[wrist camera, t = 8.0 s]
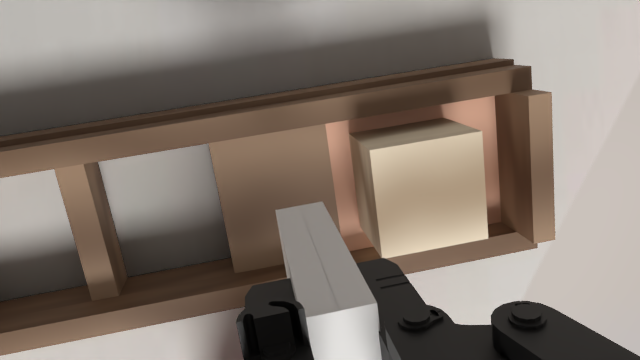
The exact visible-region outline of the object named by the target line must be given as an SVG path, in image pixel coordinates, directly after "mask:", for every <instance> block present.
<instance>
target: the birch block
mask: <svg viewBox="0 0 640 360" xmlns="http://www.w3.org/2000/svg"><path fill="white" fill-rule="evenodd" d="M349 141H350V149H351V157H352V165H353V173H354V181H355V188H356V196H357V204H358V212H359V220H360V227H361V228H362V230H363V231H364V233H365V234H366V236H367V237H368V239H369V240H370V242H371V243H372V245H373V246H374V248H375V249H376V251H377V252H378V253H379V255H380V256H381V258H391V257H396V256H401V255H406V254H411V253H417V252H422V251H427V250H432V249H437V248H442V247H448V246H453V245H458V244H463V243H468V242H473V241H479V240H484V239H488V223H487V205H486V188H485V171H484V154H483V137H482V131H480V130H478V129H475V128H472V127H469V126H466V125H463V124H461V123H458V122H455V121H452V120H449V119H446V118H438V119H432V120H426V121H420V122H414V123H408V124H402V125H396V126H390V127H384V128H378V129H372V130H366V131H360V132H354V133H349Z"/></svg>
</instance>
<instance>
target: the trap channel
mask: <svg viewBox="0 0 640 360" xmlns="http://www.w3.org/2000/svg"><path fill="white" fill-rule="evenodd" d="M438 118H446V119H449V120H452V121H455V122H458V123H461V124H463V125H466V126H469V127H472V128H475V129H478V130H480V131H482V137H483V154H484V171H485V188H486V205H487V223H488V239H484V240H479V241H473V242H468V243H463V244H458V245H453V246H448V247H442V248H437V249H432V250H427V251H422V252H417V253H411V254H406V255H401V256H396V257H391V258H386V259H388V260H390V261H392V262H394V263H396V264H397V265H398V266H399V267H400V269H401V270H402V272H403V273H404V275H405V274H410V273H415V272H420V271H425V270H430V269H435V268H440V267H445V266H450V265H455V264H460V263H465V262H470V261H475V260H480V259H485V258H490V257H495V256H500V255H505V254H510V253H515V252H520V251H525V250H530V249H535V248H537V243H540V242H545V241H550V240H555V214H554V174H553V134H552V94H551V92H545V91H539V90H532V77H531V66H521V65H514V59H495V58H493V59H486V60H480V61H474V62H467V63H461V64H455V65H449V66H442V67H436V68H430V69H423V70H417V71H411V72H404V73H398V74H392V75H385V76H379V77H373V78H367V79H360V80H354V81H348V82H341V83H335V84H329V85H322V86H316V87H310V88H303V89H297V90H291V91H284V92H278V93H272V94H266V95H259V96H253V97H247V98H240V99H234V100H228V101H221V102H215V103H209V104H202V105H196V106H190V107H184V108H177V109H171V110H165V111H158V112H152V113H146V114H139V115H133V116H127V117H120V118H114V119H108V120H102V121H95V122H89V123H83V124H76V125H70V126H64V127H57V128H51V129H45V130H38V131H32V132H26V133H19V134H13V135H7V136H1V137H0V178H3V177H9V176H15V175H21V174H27V173H33V172H39V171H45V170H51V169H54V170H55V173H56V177H57V180H58V184H59V187H60V191H61V194H62V198H63V201H64V205H65V208H66V212H67V215H68V219H69V222H70V226H71V229H72V233H73V236H74V240H75V243H76V247H77V250H78V254H79V257H80V261H81V264H82V268H83V271H84V275H85V278H86V282H87V285H85V286H80V287H75V288H70V289H64V290H59V291H54V292H49V293H43V294H38V295H33V296H28V297H22V298H17V299H12V300H7V301H1V302H0V356H1V355H6V354H11V353H16V352H21V351H26V350H31V349H36V348H41V347H46V346H51V345H56V344H61V343H66V342H71V341H76V340H81V339H86V338H91V337H96V336H101V335H106V334H111V333H116V332H121V331H126V330H131V329H136V328H141V327H146V326H151V325H156V324H161V323H166V322H171V321H176V320H181V319H186V318H191V317H196V316H201V315H206V314H211V313H216V312H221V311H226V310H230V309H235V308H240V307H245V296H246V294H247V293H248V291H249V290H250V288H251V287H252V286H253V285H258V284H263V283H268V282H273V281H278V280H283V279H287V274H286V269H285V263H284V257H283V251H282V246H281V240H280V234H279V228H278V223H277V217H276V211H275V210H279V209H284V208H290V207H295V206H301V205H306V204H311V203H317V202H323V203H324V205H325V207H326V209H327V211H328V213H329V215H330V216H331V218H332V220H333V222H334V224H335V226H336V228H337V229H338V231H339V233H340V235H341V237H342V239H343V241H344V242H345V244H346V246H347V248H348V250H349V252H350V254H351V255H352V257H353V259H354V261H355V263H360V262H365V261H370V260H375V259H380V258H381V256H380V255H379V253H378V252H377V251H376V249H375V248H374V246H373V245H372V243H371V242H370V240H369V239H368V237H367V236H366V234H365V233H364V231H363V230H362V228H361V227H360V220H359V212H358V204H357V196H356V188H355V181H354V173H353V165H352V157H351V149H350V141H349V133H354V132H360V131H366V130H372V129H378V128H384V127H390V126H396V125H402V124H408V123H414V122H420V121H426V120H432V119H438ZM207 143H208V144H209V149H210V154H211V159H212V164H213V169H214V174H215V178H216V183H217V188H218V193H219V198H220V203H221V208H222V213H223V218H224V223H225V228H226V233H227V238H228V243H229V248H230V253H231V257H232V258H227V259H222V260H217V261H212V262H206V263H201V264H196V265H191V266H185V267H180V268H175V269H170V270H164V271H159V272H154V273H148V274H143V275H138V276H133V277H128V276H127V272H126V269H125V265H124V261H123V257H122V253H121V250H120V246H119V242H118V238H117V234H116V230H115V227H114V223H113V219H112V215H111V211H110V208H109V204H108V200H107V196H106V192H105V189H104V185H103V181H102V177H101V173H100V169H99V166H98V162H99V161H105V160H111V159H117V158H123V157H129V156H135V155H141V154H147V153H153V152H159V151H165V150H171V149H177V148H183V147H189V146H195V145H201V144H207Z"/></svg>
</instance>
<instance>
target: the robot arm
mask: <svg viewBox="0 0 640 360" xmlns="http://www.w3.org/2000/svg"><path fill="white" fill-rule="evenodd" d="M275 211H276V217H277V223H278V228H279V234H280V240H281V246H282V251H283V257H284V263H285V269H286V274H287V279H283V280H278V281H273V282H268V283H263V284H258V285H253V286H252V287H251V288H250V290H249V291H248V293H247V294H246V296H245V309H244V310H243V311H242V312H241V313H240V314H239V316H238V319H237V322H236V324H237V329H238V334H239V339H240V343H241V348H242V353H243V358H244V360H640V356H638V355H636V354H634V353H632V352H631V351H629V350H627V349H625V348H623V347H622V346H620V345H618V344H616V343H614V342H613V341H611V340H609V339H607V338H605V337H604V336H602V335H600V334H598V333H596V332H595V331H593V330H591V329H589V328H587V327H586V326H584V325H582V324H580V323H578V322H577V321H575V320H573V319H571V318H569V317H568V316H566V315H564V314H562V313H560V312H559V311H557V310H555V309H553V308H551V307H548V306H546V305H543V304H541V303H535V302H530V301H515V302H511V303H507V304H503V305H501V306H499V307H498V308H496V309H495V310H494V311H493V313H492V315H491V325H459V324H455V323H454V322H453V321H452V320H451V318H450V317H449V316H448V315H447V314H446V313H445V312H444V311H443V310H441V309H439V308H436V307H433V306H430V305H426V304H425V302H424V301H423V300H422V298H421V297H420V295H419V294H418V293H417V291H416V290H415V288H414V287H413V286H412V284H411V283H410V282H409V280H408V279H407V277H406V276H404V273H403V272H402V270H401V269H400V267H399V266H398V265H397V264H396V263H394V262H392V261H390V260H388V259H386V258H380V259H375V260H370V261H365V262H360V263H355V261H354V259H353V257H352V255H351V254H350V252H349V250H348V248H347V246H346V244H345V242H344V241H343V239H342V237H341V235H340V233H339V231H338V229H337V228H336V226H335V224H334V222H333V220H332V218H331V216H330V215H329V213H328V211H327V209H326V207H325V205H324V203H323V202H317V203H311V204H306V205H301V206H295V207H290V208H284V209H279V210H275Z"/></svg>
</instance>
